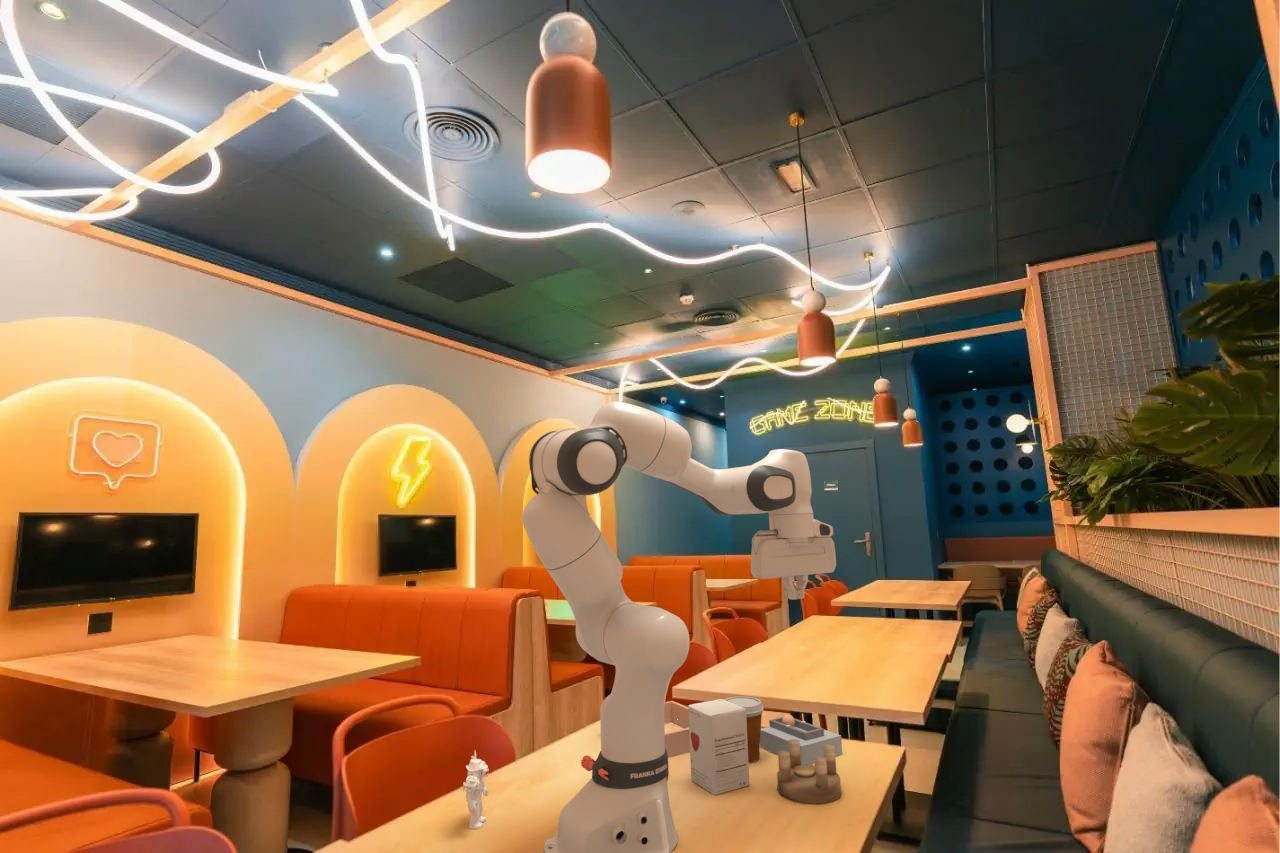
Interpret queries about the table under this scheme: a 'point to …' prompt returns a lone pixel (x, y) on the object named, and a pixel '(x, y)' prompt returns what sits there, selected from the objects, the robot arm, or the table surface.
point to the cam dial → (808, 776)
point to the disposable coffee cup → (751, 723)
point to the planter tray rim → (677, 739)
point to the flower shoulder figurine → (476, 791)
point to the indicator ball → (788, 720)
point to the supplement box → (718, 746)
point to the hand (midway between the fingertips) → (796, 598)
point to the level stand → (807, 735)
